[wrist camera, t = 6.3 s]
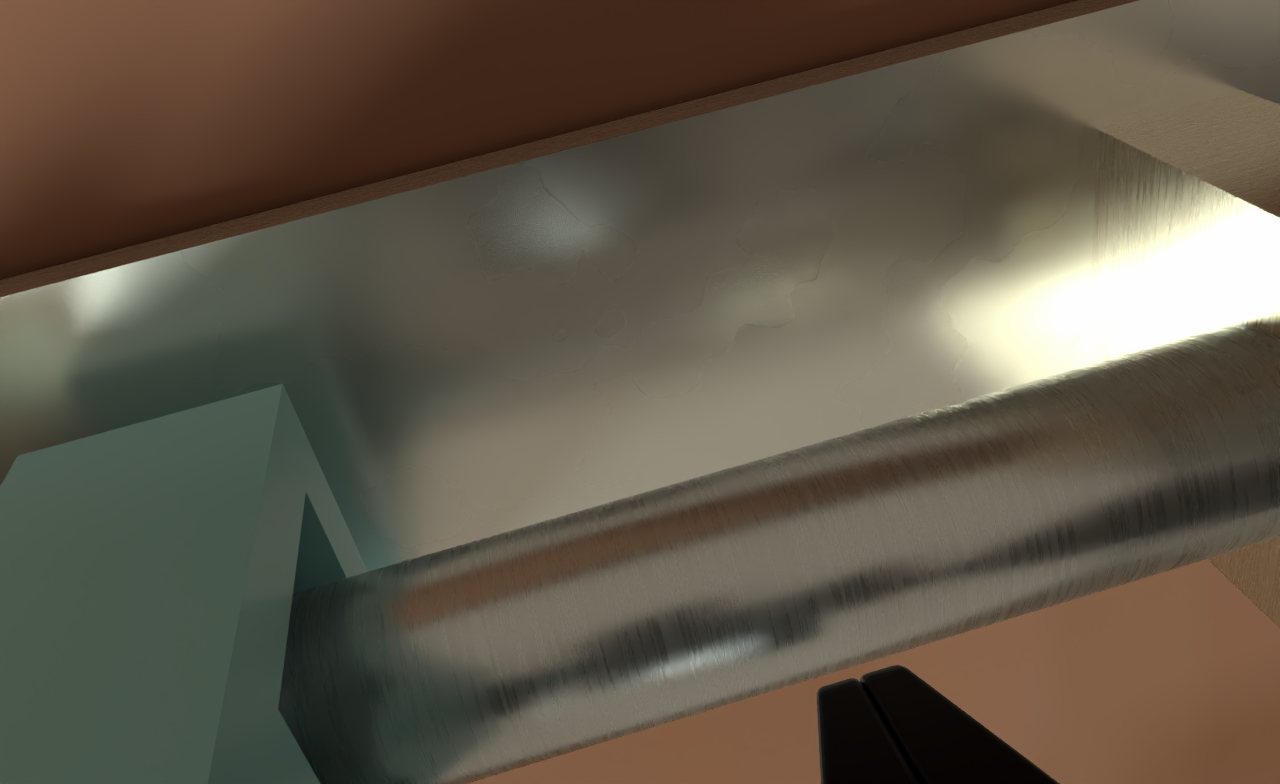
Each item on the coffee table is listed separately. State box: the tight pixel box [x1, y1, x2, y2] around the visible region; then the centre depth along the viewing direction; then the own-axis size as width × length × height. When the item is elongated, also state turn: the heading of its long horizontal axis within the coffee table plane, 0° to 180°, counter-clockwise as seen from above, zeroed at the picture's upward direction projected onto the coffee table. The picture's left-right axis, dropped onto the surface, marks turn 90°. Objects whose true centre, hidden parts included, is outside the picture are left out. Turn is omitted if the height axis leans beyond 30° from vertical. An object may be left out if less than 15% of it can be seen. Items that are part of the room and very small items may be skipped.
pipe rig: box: [0, 0, 1280, 784], centre depth 12 cm, size 21×8×5 cm, turn 101°
